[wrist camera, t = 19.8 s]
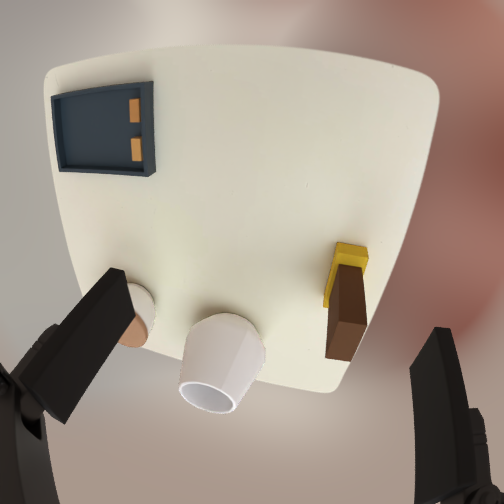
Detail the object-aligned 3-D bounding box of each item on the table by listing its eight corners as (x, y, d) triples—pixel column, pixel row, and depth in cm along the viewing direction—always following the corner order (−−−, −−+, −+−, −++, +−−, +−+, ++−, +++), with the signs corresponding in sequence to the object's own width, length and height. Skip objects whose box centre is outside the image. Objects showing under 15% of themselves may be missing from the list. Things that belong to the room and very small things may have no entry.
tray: (153, 81, 32) (144, 82, 30) (156, 171, 38) (148, 177, 37) (60, 93, 34) (50, 96, 33) (67, 167, 41) (58, 171, 39)
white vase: (183, 329, 54) (152, 389, 43) (217, 289, 47) (183, 358, 35) (243, 365, 56) (223, 427, 45) (286, 333, 49) (271, 406, 37)
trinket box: (157, 327, 56) (135, 363, 48) (111, 298, 55) (85, 331, 47) (172, 293, 50) (146, 333, 42) (119, 261, 49) (88, 295, 41)
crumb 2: (145, 136, 35) (139, 138, 34) (146, 158, 37) (141, 161, 36) (136, 136, 35) (130, 138, 34) (137, 157, 37) (132, 160, 36)
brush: (337, 242, 38) (337, 309, 28) (367, 247, 37) (376, 315, 27) (323, 295, 43) (317, 365, 33) (350, 300, 42) (351, 370, 32)
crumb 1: (144, 97, 32) (138, 98, 31) (145, 120, 34) (139, 122, 33) (135, 98, 33) (129, 99, 31) (135, 120, 34) (129, 122, 33)
